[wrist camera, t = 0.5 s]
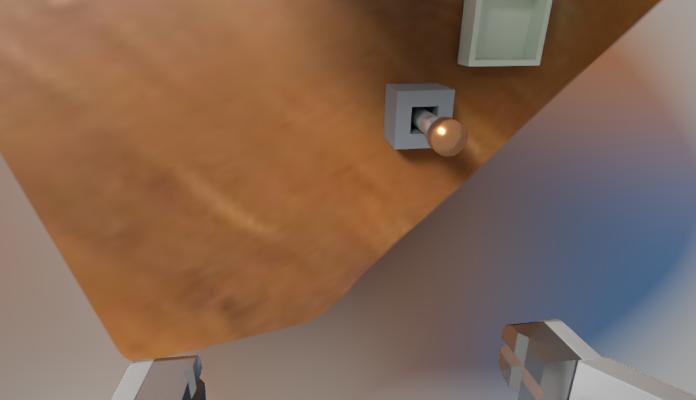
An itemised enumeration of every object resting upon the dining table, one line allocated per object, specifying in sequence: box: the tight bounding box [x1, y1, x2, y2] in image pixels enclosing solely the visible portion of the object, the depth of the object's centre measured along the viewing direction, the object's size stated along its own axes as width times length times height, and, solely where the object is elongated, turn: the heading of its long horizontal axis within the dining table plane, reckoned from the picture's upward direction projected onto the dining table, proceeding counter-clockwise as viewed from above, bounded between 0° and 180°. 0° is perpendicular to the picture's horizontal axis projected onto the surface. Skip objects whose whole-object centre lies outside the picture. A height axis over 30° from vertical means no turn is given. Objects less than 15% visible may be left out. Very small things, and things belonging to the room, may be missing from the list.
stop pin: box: [411, 107, 468, 157], centre depth 39 cm, size 3×3×12 cm
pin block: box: [384, 83, 455, 150], centre depth 42 cm, size 6×6×5 cm
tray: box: [457, 0, 553, 67], centre depth 40 cm, size 8×8×3 cm
